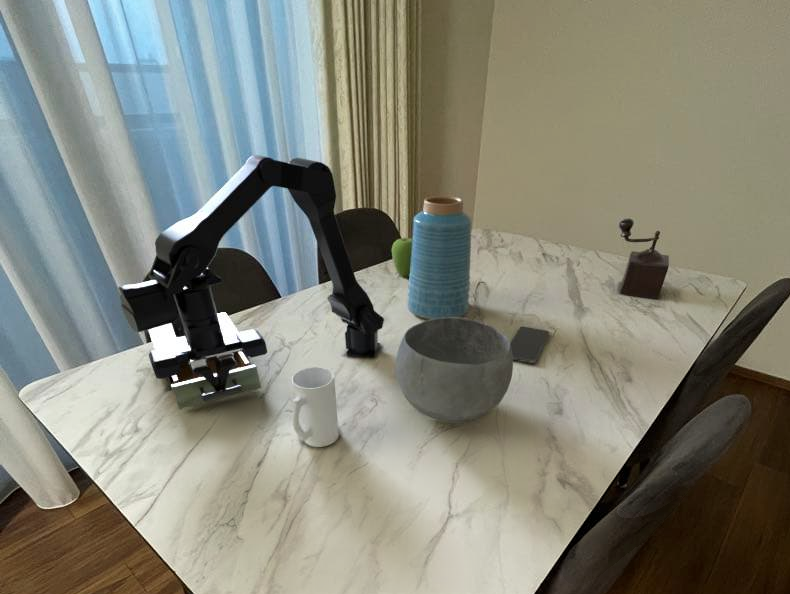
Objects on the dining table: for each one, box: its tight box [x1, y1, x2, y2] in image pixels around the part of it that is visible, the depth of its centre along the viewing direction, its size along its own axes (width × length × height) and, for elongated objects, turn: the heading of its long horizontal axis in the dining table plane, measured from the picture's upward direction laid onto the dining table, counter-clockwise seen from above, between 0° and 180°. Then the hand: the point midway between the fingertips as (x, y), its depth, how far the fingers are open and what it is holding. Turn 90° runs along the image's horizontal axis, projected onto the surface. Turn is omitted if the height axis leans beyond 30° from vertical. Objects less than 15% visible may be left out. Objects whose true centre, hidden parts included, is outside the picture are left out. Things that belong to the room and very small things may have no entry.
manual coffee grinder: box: [618, 218, 670, 300], centre depth 133 cm, size 16×11×18 cm
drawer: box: [171, 351, 262, 410], centre depth 92 cm, size 20×15×5 cm
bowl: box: [395, 317, 514, 424], centre depth 85 cm, size 20×20×15 cm
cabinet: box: [147, 311, 251, 390], centre depth 101 cm, size 17×17×7 cm
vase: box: [406, 195, 473, 321], centre depth 117 cm, size 16×16×27 cm
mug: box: [291, 366, 340, 448], centre depth 78 cm, size 10×7×12 cm, turn 157°
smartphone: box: [510, 325, 550, 364], centre depth 109 cm, size 7×1×16 cm
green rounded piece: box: [391, 236, 412, 278], centre depth 142 cm, size 9×8×12 cm
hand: (221, 393), depth 87 cm, fingers closed, pressing on drawer
